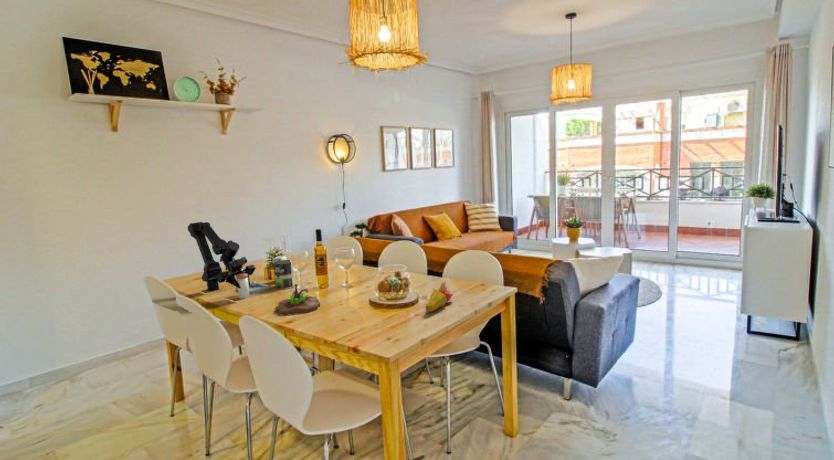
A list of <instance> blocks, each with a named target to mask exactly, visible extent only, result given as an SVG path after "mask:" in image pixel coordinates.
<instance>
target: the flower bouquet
mask: <svg viewBox="0 0 834 460" xmlns="http://www.w3.org/2000/svg"><path fill="white" fill-rule="evenodd" d="M446 283H447V279H445V280H443V281H442V282H441V284H440V286H439V288H438V285H436V286H434V287H433V288H432V289H433V290H432V293H431V294H430V297H429V300H428V302H427V303H426V304H425V311H426V312H433V311H436V310H437V309H439V308H442V307H444V306H445V305H446V303H447V302H449V301H451V299H452V297H453V296H454V294H453V293H451V292H452V289H448V285H447V284H446Z"/></svg>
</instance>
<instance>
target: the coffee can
mask: <svg viewBox="0 0 834 460" xmlns="http://www.w3.org/2000/svg"><path fill="white" fill-rule="evenodd" d="M290 260H291V259H287V260H280V261H276V262H274V263H273V262H272V266H274V267H273V273H274V275H273V276H274V286H275V288H276V289H283V290H284V291H285V290H290V289H293V288H295V276H294V268H293V269H292V267H291V262H290Z"/></svg>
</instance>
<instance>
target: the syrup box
mask: <svg viewBox="0 0 834 460" xmlns="http://www.w3.org/2000/svg"><path fill="white" fill-rule="evenodd" d="M280 260H288V259H287V256H284V255H279V256H276V257H274V258H272V264H273V263H274V262H276V261H280ZM272 266H273V265H272ZM273 268H274V266H273Z"/></svg>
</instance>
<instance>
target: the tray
mask: <svg viewBox="0 0 834 460" xmlns="http://www.w3.org/2000/svg"><path fill="white" fill-rule="evenodd" d="M270 289H272V286H271V285H269V284H265V283H259V282H257V285H256V286H255V287H253V286H252V285H251V283H250V286H249V293H250V295H253V294H256V293H260V292H264V291H267V290H270ZM235 291H237V292H238V288H237V287H235Z"/></svg>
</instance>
